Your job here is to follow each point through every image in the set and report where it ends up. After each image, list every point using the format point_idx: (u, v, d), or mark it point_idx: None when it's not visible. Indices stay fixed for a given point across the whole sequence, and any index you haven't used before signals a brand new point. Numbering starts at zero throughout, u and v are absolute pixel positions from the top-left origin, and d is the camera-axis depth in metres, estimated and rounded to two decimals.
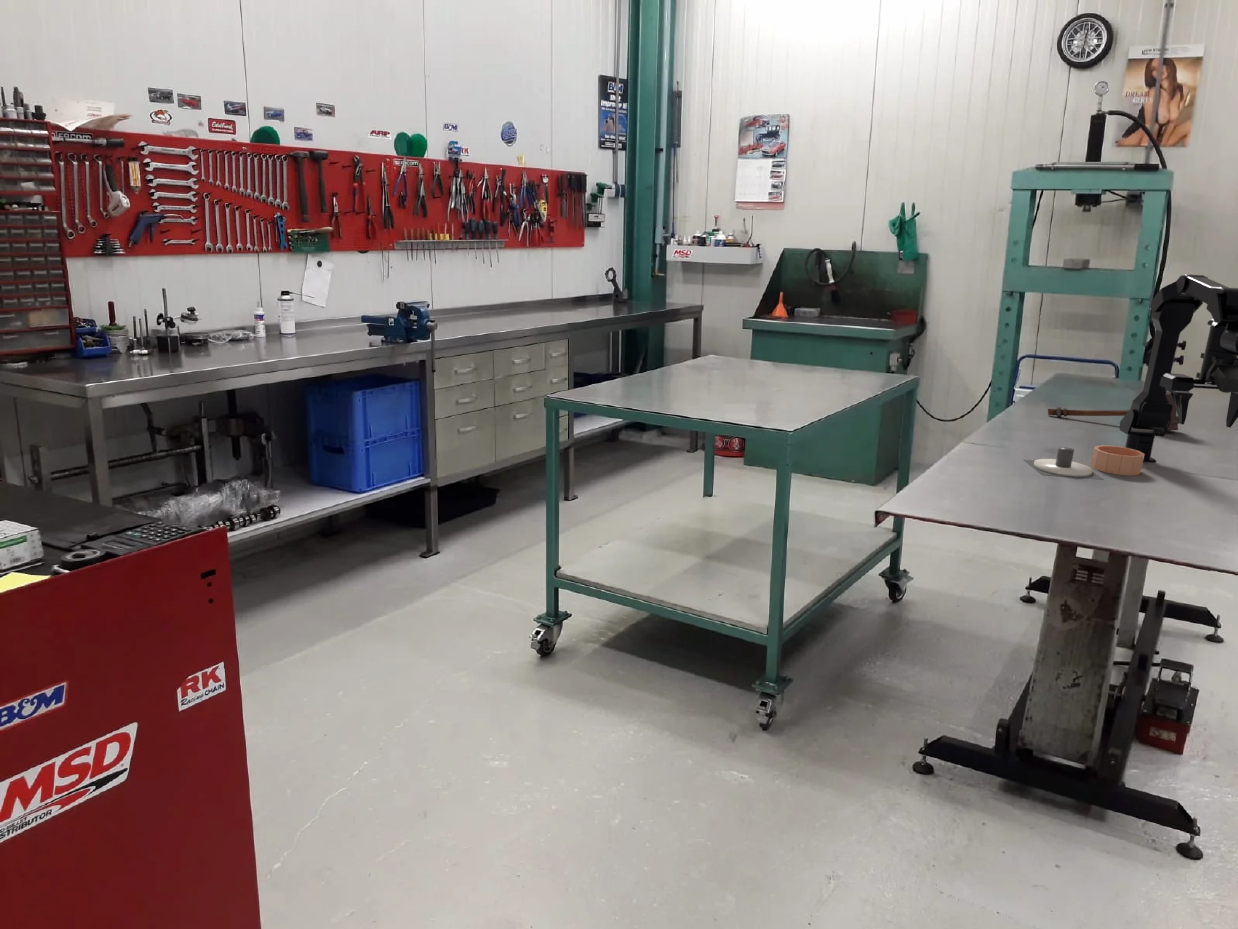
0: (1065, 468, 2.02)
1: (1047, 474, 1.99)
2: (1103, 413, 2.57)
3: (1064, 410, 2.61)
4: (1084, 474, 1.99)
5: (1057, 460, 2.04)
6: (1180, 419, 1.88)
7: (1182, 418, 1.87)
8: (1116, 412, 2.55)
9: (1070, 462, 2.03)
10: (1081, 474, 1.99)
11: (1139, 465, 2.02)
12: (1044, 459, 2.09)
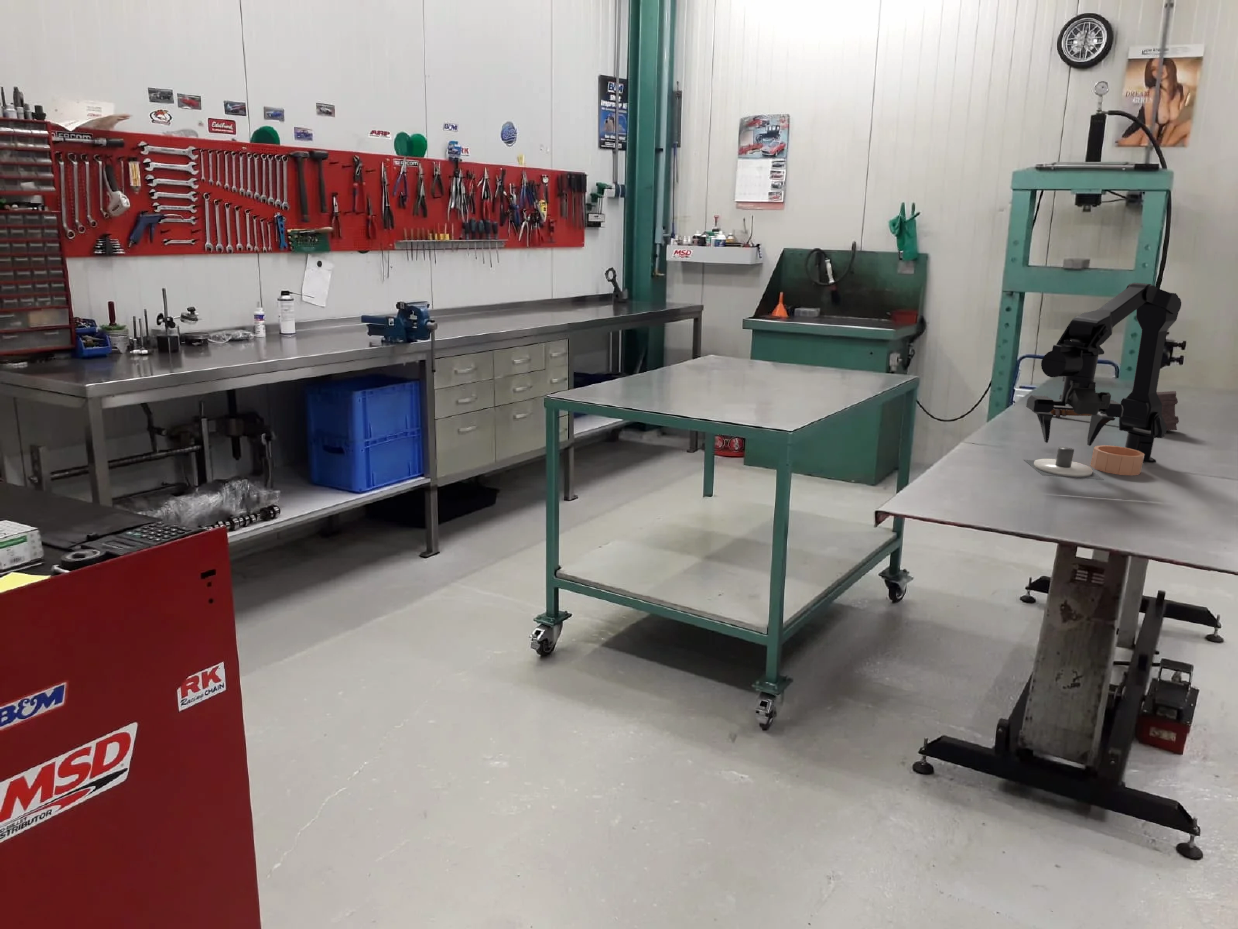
0: (1065, 468, 2.02)
1: (1047, 474, 1.99)
2: None
3: (1063, 410, 2.62)
4: (1084, 474, 1.99)
5: (1057, 460, 2.04)
6: (1044, 438, 2.03)
7: (1046, 437, 2.02)
8: None
9: (1070, 462, 2.03)
10: (1081, 474, 1.99)
11: (1139, 465, 2.02)
12: (1044, 459, 2.09)
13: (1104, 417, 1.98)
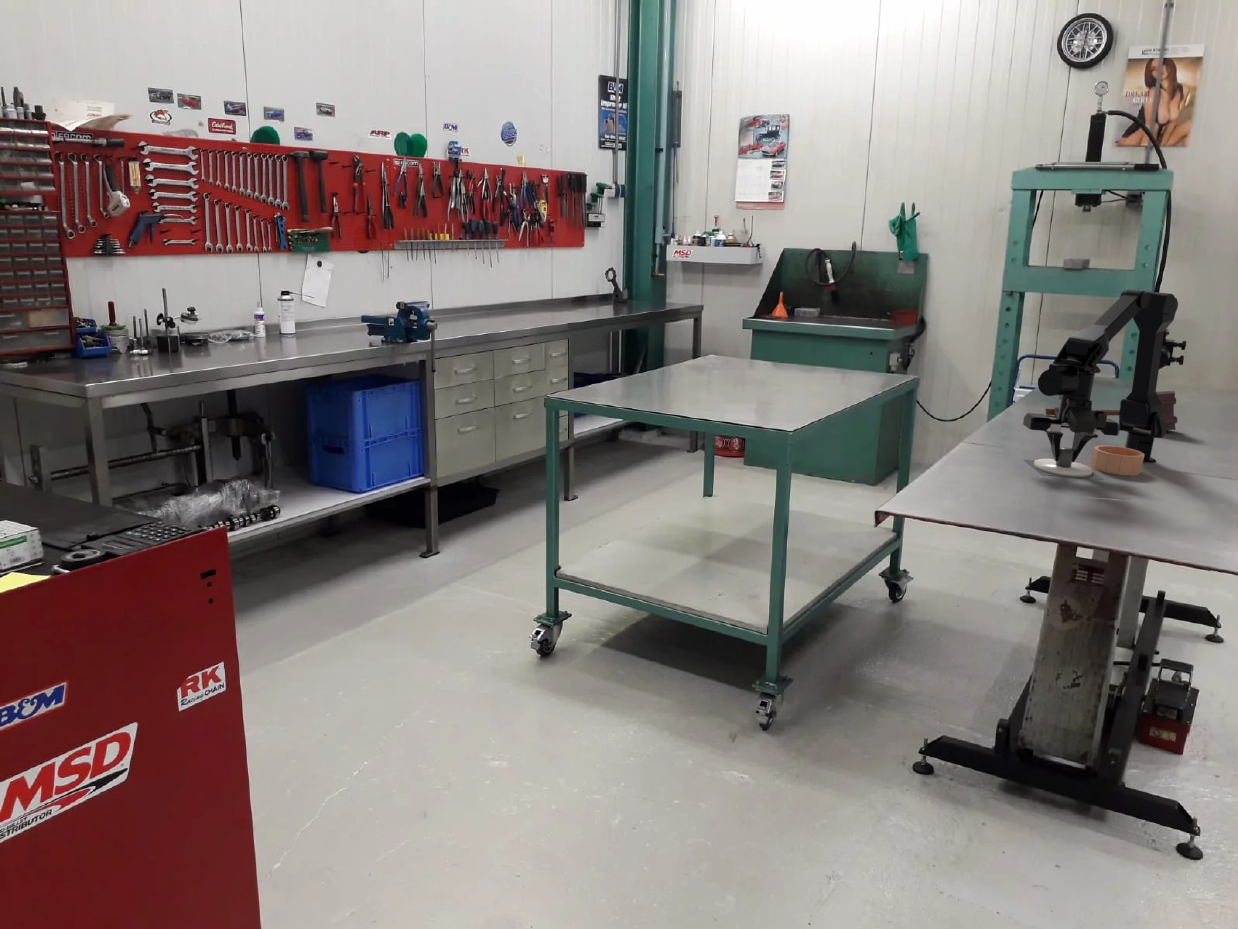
0: (1065, 468, 2.02)
1: (1047, 474, 1.99)
2: None
3: None
4: (1084, 474, 1.99)
5: None
6: (1054, 456, 2.04)
7: (1055, 455, 2.03)
8: (1114, 412, 2.55)
9: (1070, 462, 2.03)
10: (1081, 474, 1.99)
11: (1139, 465, 2.02)
12: (1044, 459, 2.09)
13: (1087, 434, 2.00)
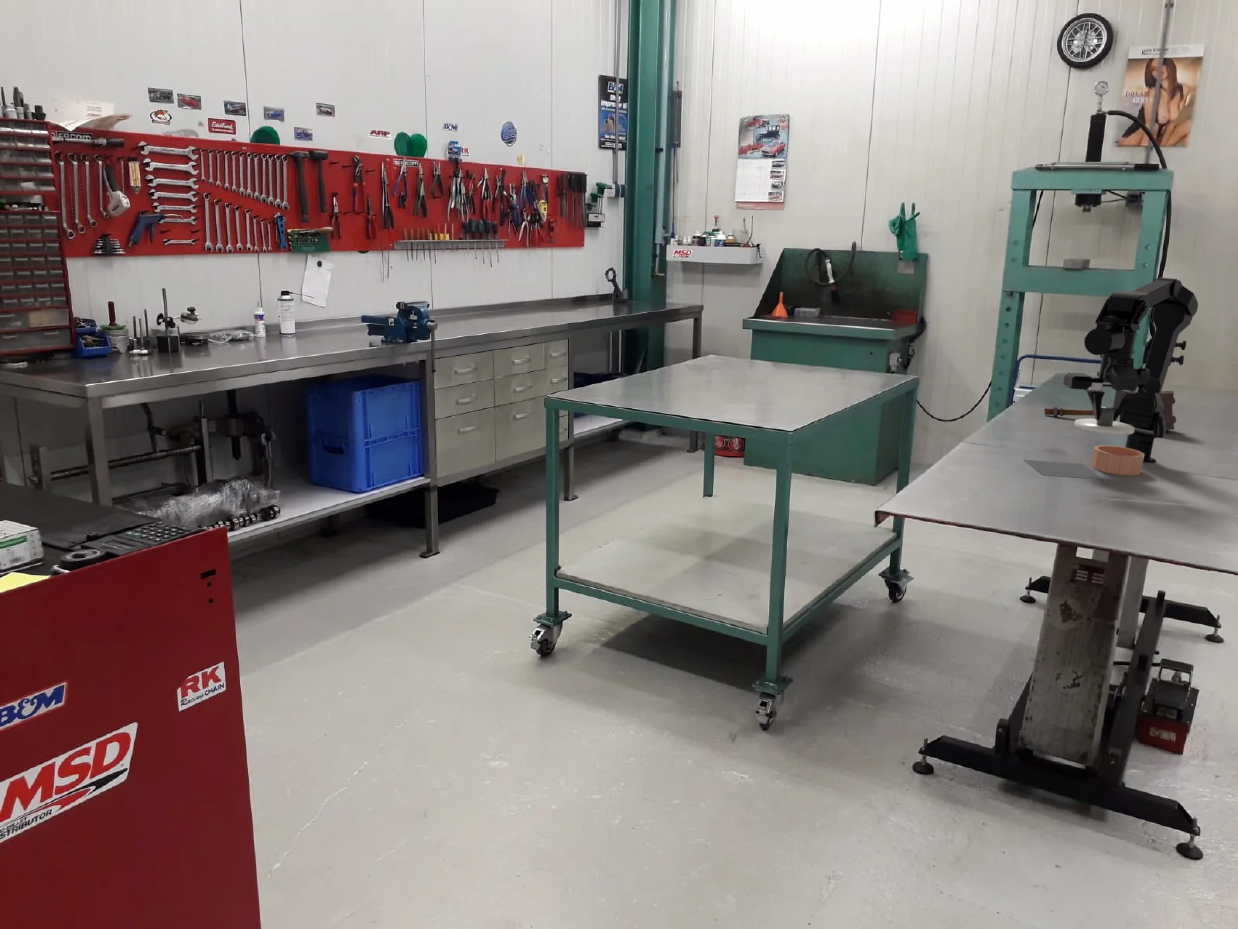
0: (1107, 427, 2.01)
1: (1047, 474, 1.99)
2: None
3: (1061, 410, 2.62)
4: (1126, 432, 1.98)
5: None
6: (1095, 415, 2.03)
7: (1097, 414, 2.02)
8: None
9: (1111, 421, 2.02)
10: (1123, 432, 1.98)
11: (1139, 465, 2.02)
12: (1084, 419, 2.08)
13: (1129, 392, 1.99)
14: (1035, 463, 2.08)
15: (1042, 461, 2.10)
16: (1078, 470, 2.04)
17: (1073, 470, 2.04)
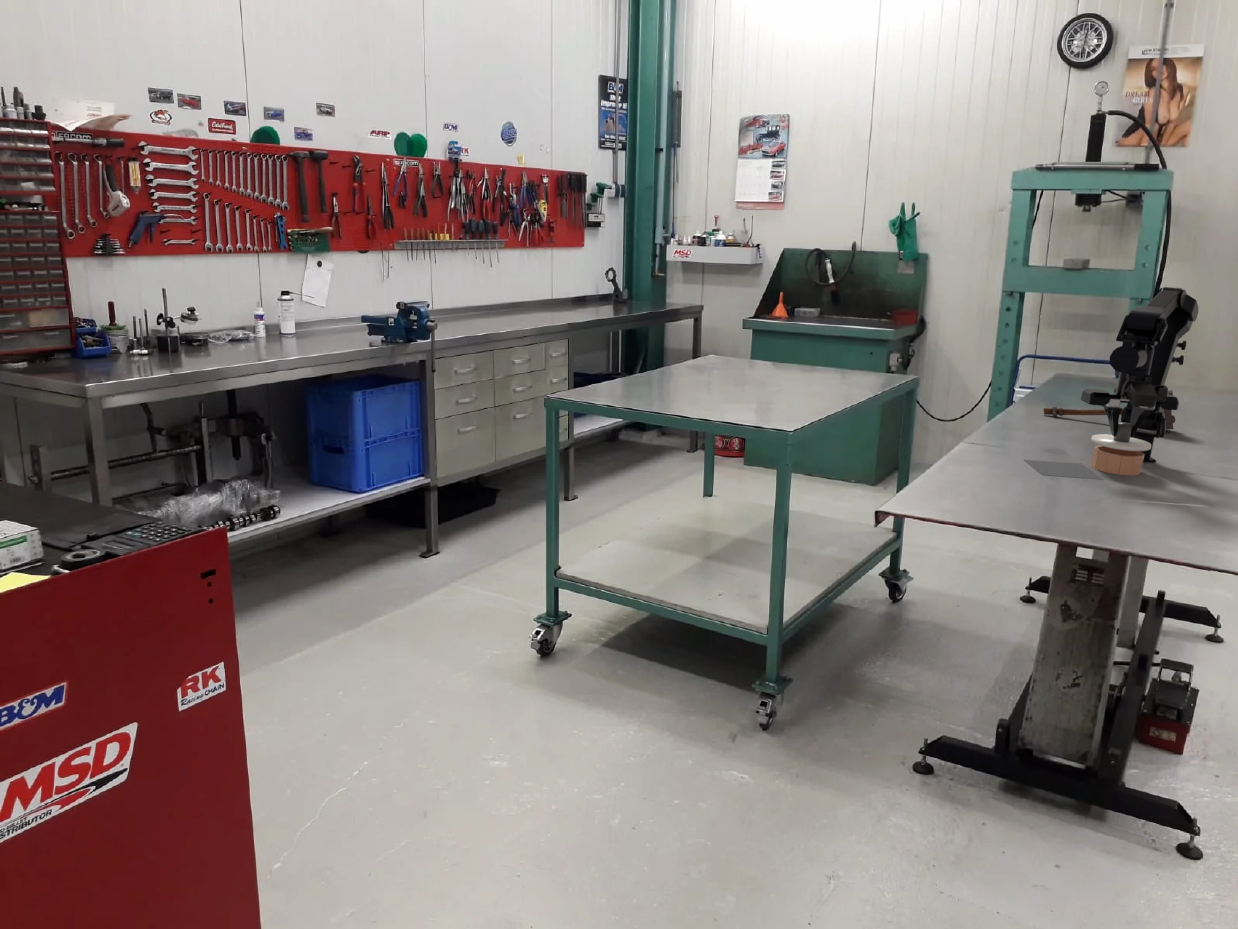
0: (1124, 443, 2.03)
1: (1047, 474, 1.99)
2: (1099, 412, 2.57)
3: (1060, 409, 2.62)
4: (1144, 448, 2.00)
5: None
6: (1112, 431, 2.05)
7: (1114, 430, 2.04)
8: None
9: (1129, 437, 2.04)
10: (1141, 448, 2.00)
11: (1139, 465, 2.02)
12: (1101, 434, 2.10)
13: (1146, 409, 2.01)
14: (1035, 463, 2.08)
15: (1042, 461, 2.10)
16: (1078, 470, 2.04)
17: (1073, 470, 2.04)
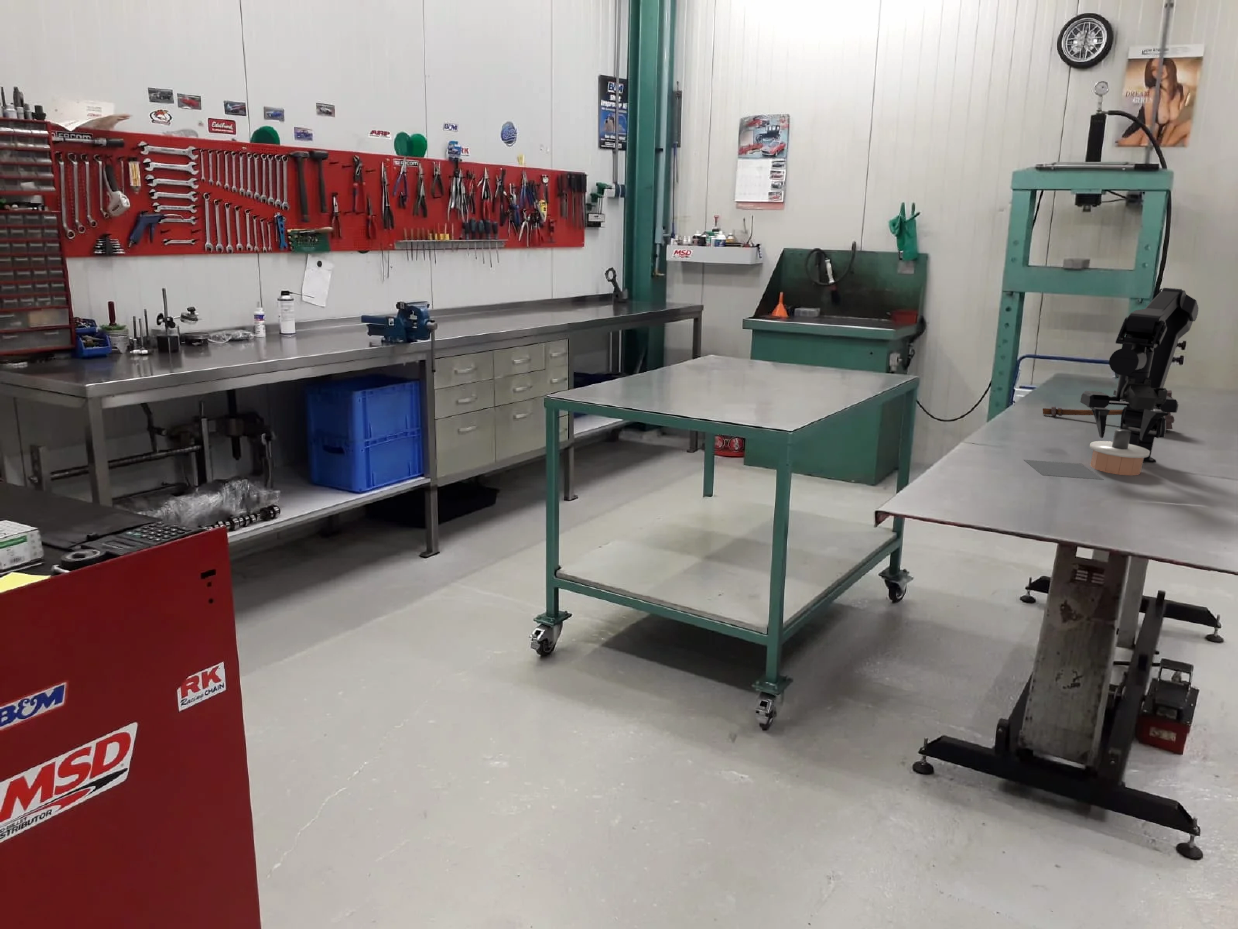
0: (1122, 449, 2.03)
1: (1047, 474, 1.99)
2: None
3: (1059, 409, 2.62)
4: (1142, 455, 2.00)
5: (1114, 442, 2.05)
6: (1100, 433, 2.05)
7: (1101, 432, 2.05)
8: (1111, 411, 2.56)
9: (1127, 444, 2.04)
10: (1139, 455, 2.00)
11: (1139, 465, 2.02)
12: (1099, 441, 2.10)
13: (1158, 412, 2.00)
14: (1035, 463, 2.08)
15: (1042, 461, 2.10)
16: (1078, 470, 2.04)
17: (1073, 470, 2.04)
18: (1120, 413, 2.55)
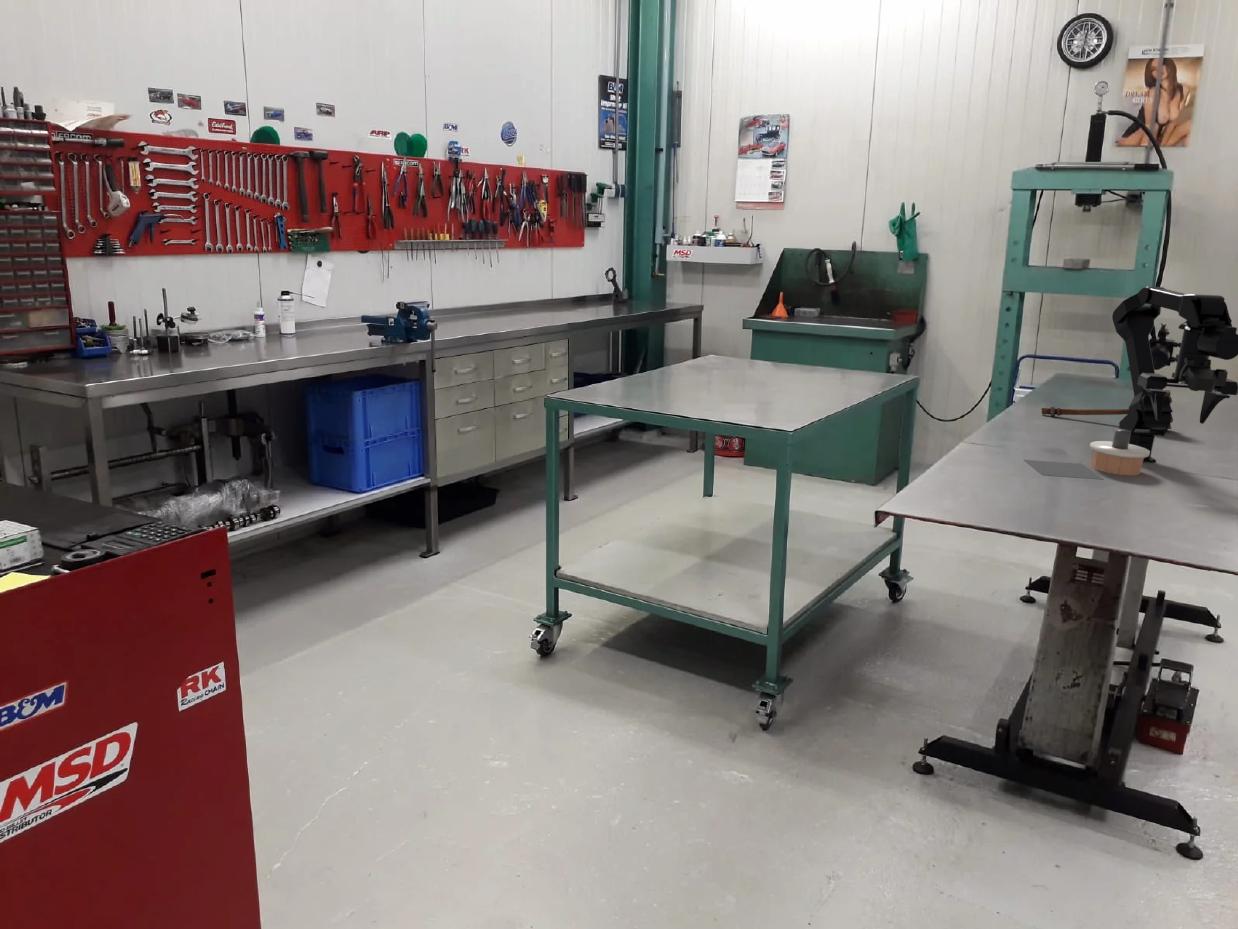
0: (1122, 449, 2.03)
1: (1047, 474, 1.99)
2: (1097, 412, 2.58)
3: (1058, 409, 2.62)
4: (1142, 455, 2.00)
5: (1114, 442, 2.05)
6: (1156, 415, 2.04)
7: (1157, 414, 2.03)
8: (1109, 411, 2.56)
9: (1127, 444, 2.04)
10: (1139, 455, 2.00)
11: (1139, 465, 2.02)
12: (1099, 441, 2.10)
13: (1219, 395, 1.99)
14: (1035, 463, 2.08)
15: (1042, 461, 2.10)
16: (1078, 470, 2.04)
17: (1073, 470, 2.04)
18: (1119, 413, 2.55)
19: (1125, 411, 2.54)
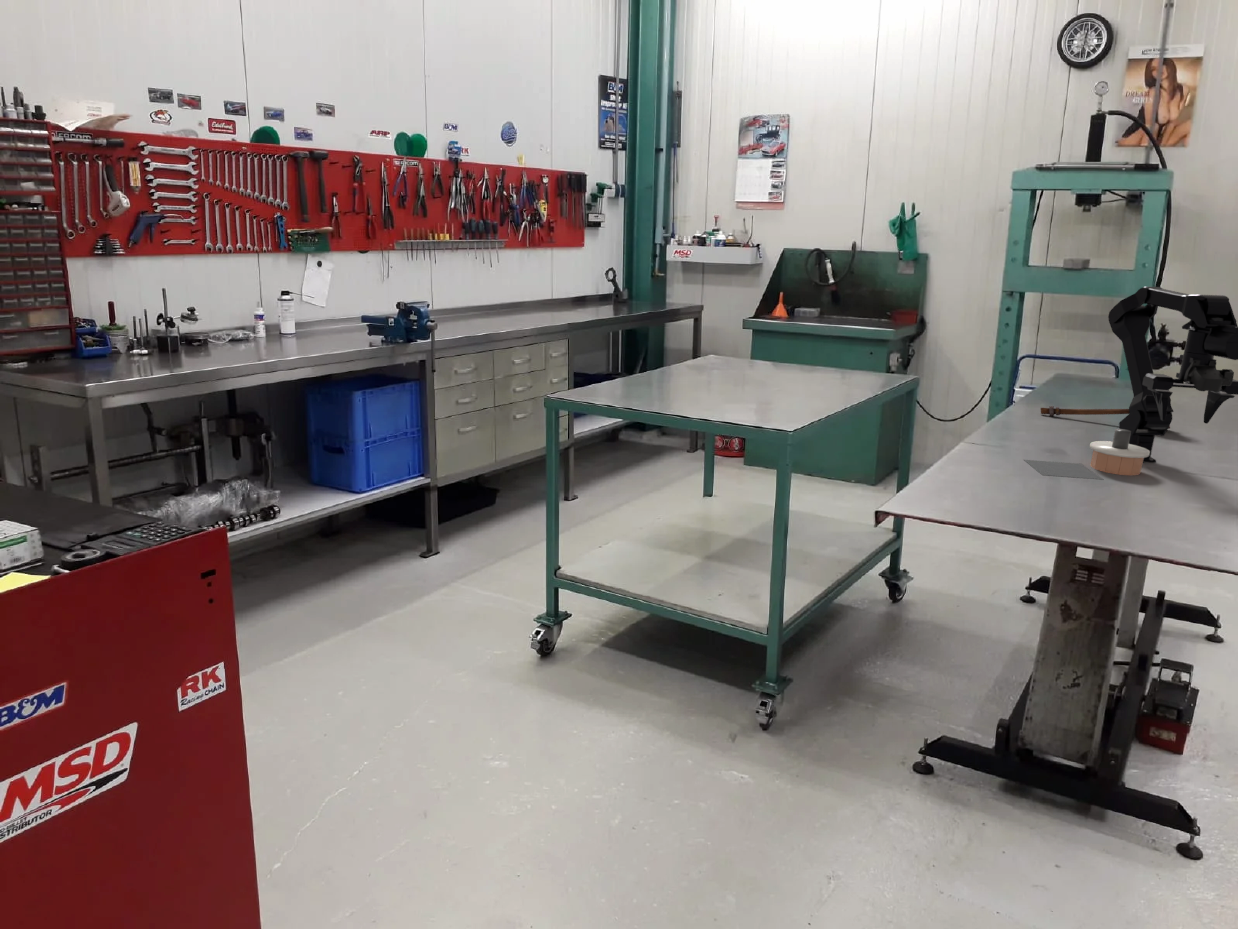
0: (1122, 449, 2.03)
1: (1047, 474, 1.99)
2: (1096, 411, 2.58)
3: (1057, 409, 2.62)
4: (1142, 455, 2.00)
5: (1114, 442, 2.05)
6: (1161, 416, 2.04)
7: (1163, 415, 2.03)
8: (1108, 411, 2.56)
9: (1127, 444, 2.04)
10: (1139, 455, 2.00)
11: (1139, 465, 2.02)
12: (1099, 441, 2.10)
13: (1223, 395, 1.99)
14: (1035, 463, 2.08)
15: (1042, 461, 2.10)
16: (1078, 470, 2.04)
17: (1073, 470, 2.04)
18: (1118, 412, 2.55)
19: (1124, 411, 2.54)
